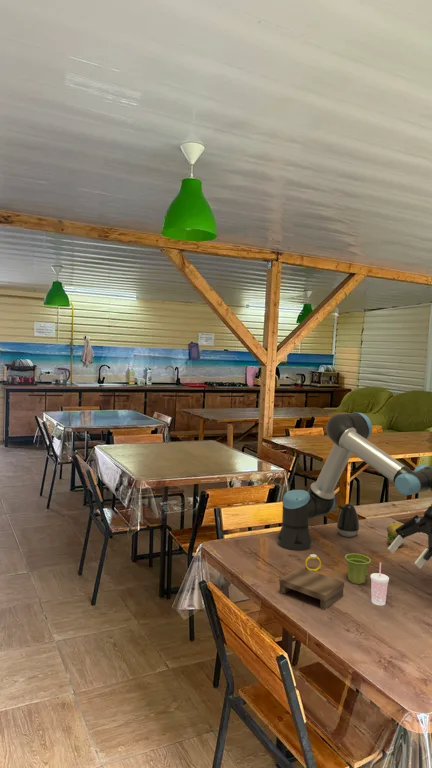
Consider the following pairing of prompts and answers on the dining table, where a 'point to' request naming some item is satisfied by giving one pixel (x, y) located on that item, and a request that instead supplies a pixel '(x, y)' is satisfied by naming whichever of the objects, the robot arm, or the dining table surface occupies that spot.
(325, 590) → the walnut shelf
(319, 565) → the watch
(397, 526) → the hamburger
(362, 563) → the plant pot
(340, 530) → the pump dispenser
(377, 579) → the beverage cup
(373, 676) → the dining table surface
